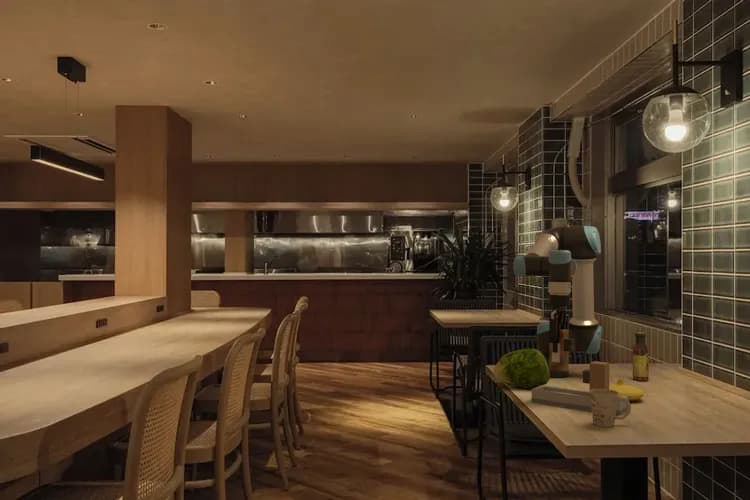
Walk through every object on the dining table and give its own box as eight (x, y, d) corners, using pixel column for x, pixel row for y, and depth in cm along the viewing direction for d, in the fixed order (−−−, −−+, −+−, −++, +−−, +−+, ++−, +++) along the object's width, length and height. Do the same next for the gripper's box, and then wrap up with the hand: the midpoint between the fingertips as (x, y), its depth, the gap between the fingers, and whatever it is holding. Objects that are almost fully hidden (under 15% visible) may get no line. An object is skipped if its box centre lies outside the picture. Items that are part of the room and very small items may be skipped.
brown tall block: (549, 369, 222) (549, 329, 222) (554, 368, 226) (554, 328, 226) (570, 372, 217) (570, 331, 218) (575, 370, 221) (575, 330, 222)
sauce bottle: (650, 382, 263) (650, 333, 264) (634, 381, 265) (634, 333, 265) (646, 379, 270) (647, 332, 270) (631, 378, 271) (631, 331, 271)
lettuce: (499, 388, 260) (487, 353, 259) (549, 373, 257) (538, 339, 256) (502, 402, 244) (490, 366, 243) (556, 387, 242) (544, 350, 240)
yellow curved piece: (622, 406, 220) (622, 385, 220) (588, 397, 234) (588, 377, 234) (654, 401, 227) (654, 381, 227) (618, 393, 241) (618, 374, 241)
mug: (584, 421, 198) (584, 388, 198) (623, 420, 199) (623, 388, 199) (596, 428, 190) (596, 394, 190) (636, 427, 191) (637, 394, 191)
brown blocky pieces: (531, 402, 223) (531, 357, 224) (542, 397, 231) (542, 354, 232) (619, 415, 205) (619, 367, 206) (628, 410, 213) (628, 363, 214)
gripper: (560, 295, 214) (559, 365, 213) (579, 294, 228) (578, 359, 227) (539, 294, 218) (538, 362, 218) (558, 293, 233) (558, 357, 232)
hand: (558, 360), depth 222 cm, fingers closed on brown tall block, 5 cm apart
